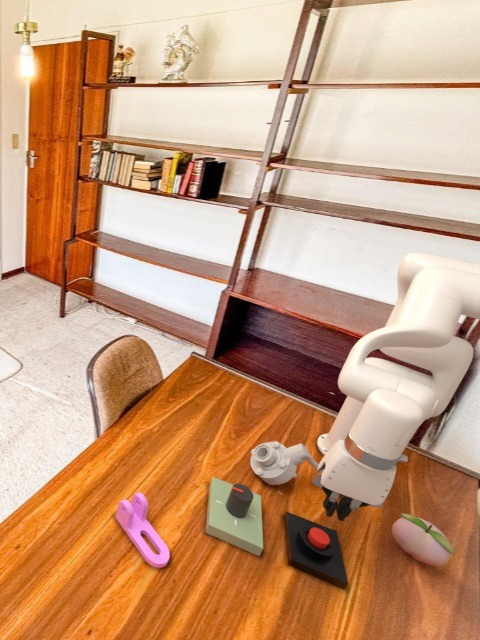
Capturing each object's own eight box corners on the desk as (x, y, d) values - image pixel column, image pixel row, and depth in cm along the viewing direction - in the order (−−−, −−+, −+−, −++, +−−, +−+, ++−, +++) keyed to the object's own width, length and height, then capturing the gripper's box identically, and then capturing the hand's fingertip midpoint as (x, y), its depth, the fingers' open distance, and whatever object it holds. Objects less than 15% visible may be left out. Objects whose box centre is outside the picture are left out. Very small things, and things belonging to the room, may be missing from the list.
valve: (295, 520, 104) (357, 506, 96) (247, 476, 100) (307, 456, 93) (284, 485, 112) (339, 468, 104) (240, 442, 109) (293, 422, 101)
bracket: (115, 517, 93) (119, 498, 90) (134, 508, 95) (138, 488, 92) (154, 572, 82) (160, 552, 79) (174, 560, 85) (180, 540, 82)
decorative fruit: (444, 562, 86) (468, 533, 82) (431, 583, 82) (456, 555, 78) (391, 525, 93) (410, 497, 89) (377, 543, 89) (397, 515, 85)
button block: (283, 516, 94) (288, 506, 93) (333, 536, 91) (339, 526, 89) (287, 565, 85) (294, 553, 83) (344, 589, 81) (351, 578, 79)
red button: (306, 529, 88) (309, 524, 87) (325, 537, 87) (328, 532, 86) (308, 544, 85) (311, 539, 85) (328, 552, 84) (331, 547, 83)
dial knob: (245, 505, 94) (253, 487, 91) (246, 521, 90) (254, 503, 87) (225, 497, 95) (232, 479, 92) (225, 513, 92) (232, 495, 89)
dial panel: (209, 484, 102) (212, 476, 100) (257, 503, 97) (261, 494, 96) (205, 532, 90) (208, 524, 89) (259, 556, 86) (263, 547, 85)
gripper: (415, 451, 74) (374, 514, 82) (317, 421, 80) (288, 482, 88) (431, 483, 68) (385, 547, 76) (323, 448, 74) (291, 511, 82)
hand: (333, 512), depth 82 cm, fingers closed
